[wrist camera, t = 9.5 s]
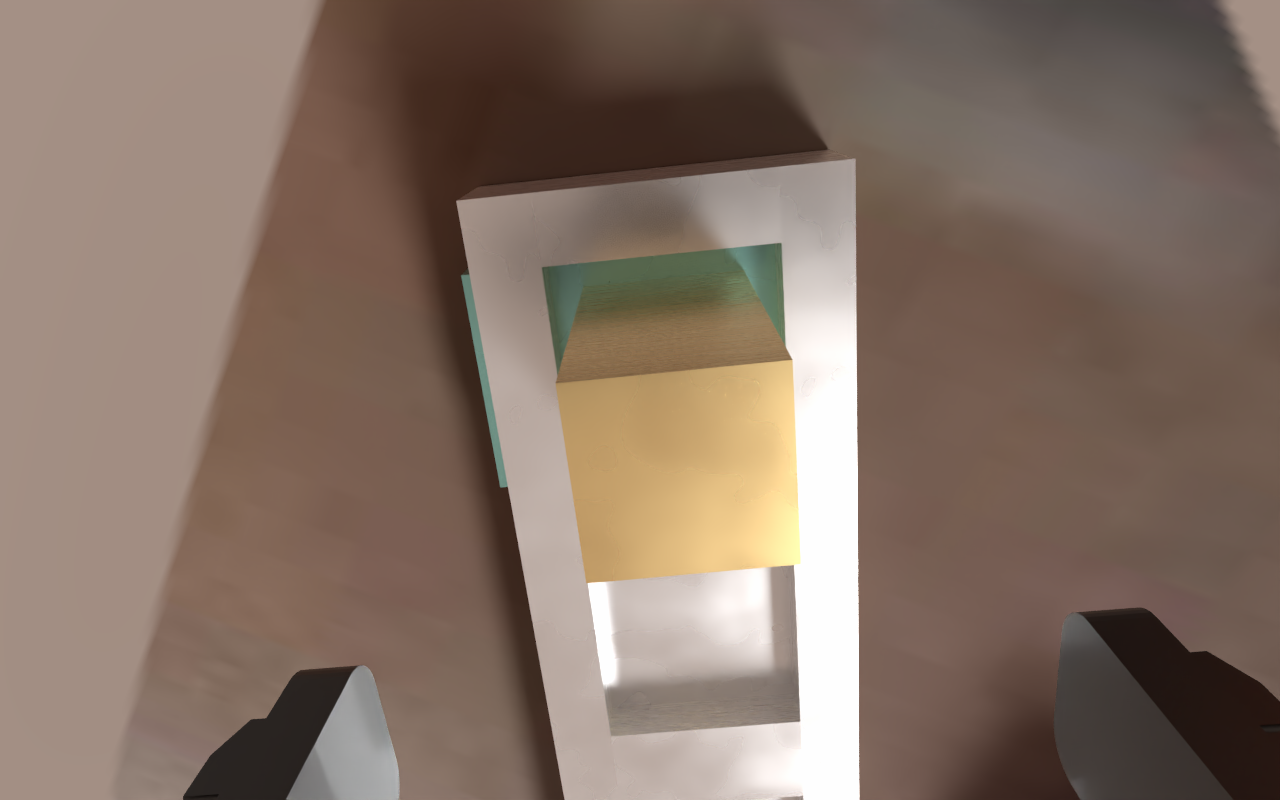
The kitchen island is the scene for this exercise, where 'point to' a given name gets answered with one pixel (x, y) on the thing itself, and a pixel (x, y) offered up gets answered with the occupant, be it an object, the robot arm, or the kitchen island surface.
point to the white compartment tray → (694, 603)
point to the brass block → (679, 429)
